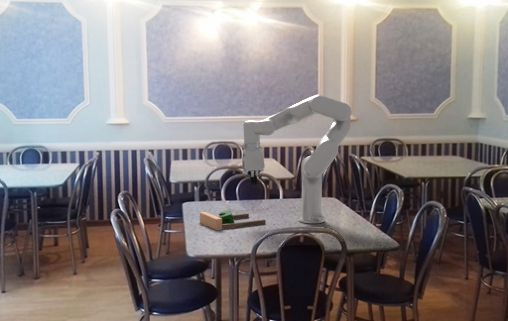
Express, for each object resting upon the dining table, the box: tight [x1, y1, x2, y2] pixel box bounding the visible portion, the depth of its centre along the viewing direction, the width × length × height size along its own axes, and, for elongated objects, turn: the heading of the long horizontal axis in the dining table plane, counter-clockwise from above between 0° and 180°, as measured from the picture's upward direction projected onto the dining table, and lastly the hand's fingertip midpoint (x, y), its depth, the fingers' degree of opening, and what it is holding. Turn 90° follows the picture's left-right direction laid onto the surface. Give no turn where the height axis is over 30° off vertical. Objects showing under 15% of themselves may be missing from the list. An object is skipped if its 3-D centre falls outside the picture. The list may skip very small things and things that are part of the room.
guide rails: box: [218, 212, 267, 230], centre depth 290 cm, size 18×22×2 cm
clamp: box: [218, 209, 235, 224], centre depth 288 cm, size 12×6×9 cm, turn 0°
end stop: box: [199, 211, 223, 231], centre depth 284 cm, size 18×3×5 cm, turn 29°
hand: (253, 184), depth 293 cm, fingers closed
